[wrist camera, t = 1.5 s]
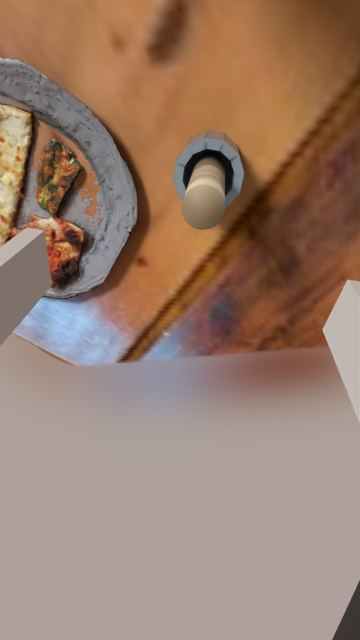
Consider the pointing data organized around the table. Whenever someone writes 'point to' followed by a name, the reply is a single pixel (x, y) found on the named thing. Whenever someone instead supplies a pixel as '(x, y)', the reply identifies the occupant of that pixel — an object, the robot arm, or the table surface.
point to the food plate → (60, 180)
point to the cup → (215, 144)
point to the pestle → (205, 192)
